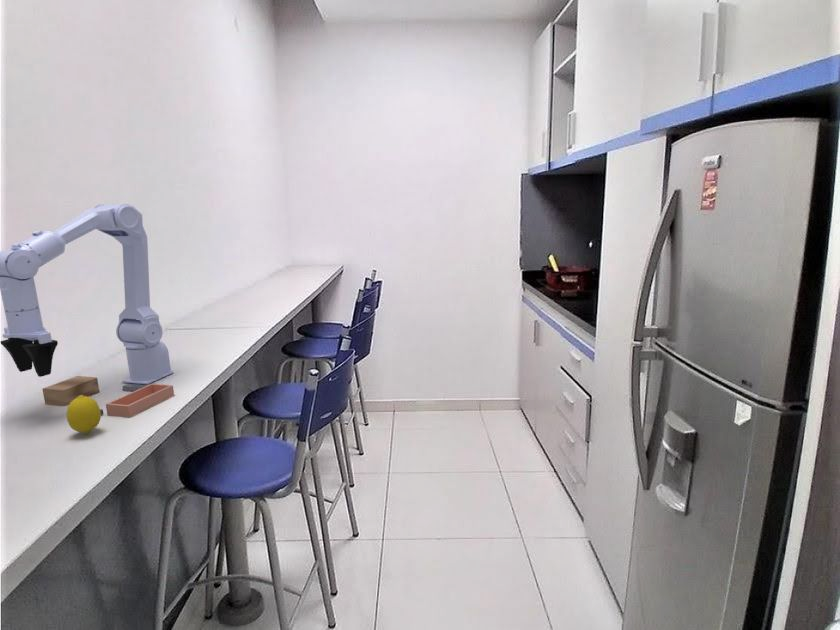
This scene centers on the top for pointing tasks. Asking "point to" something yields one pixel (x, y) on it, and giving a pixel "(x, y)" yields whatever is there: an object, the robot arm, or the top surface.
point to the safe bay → (128, 388)
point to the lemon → (83, 414)
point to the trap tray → (139, 400)
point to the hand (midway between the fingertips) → (35, 372)
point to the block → (70, 390)
